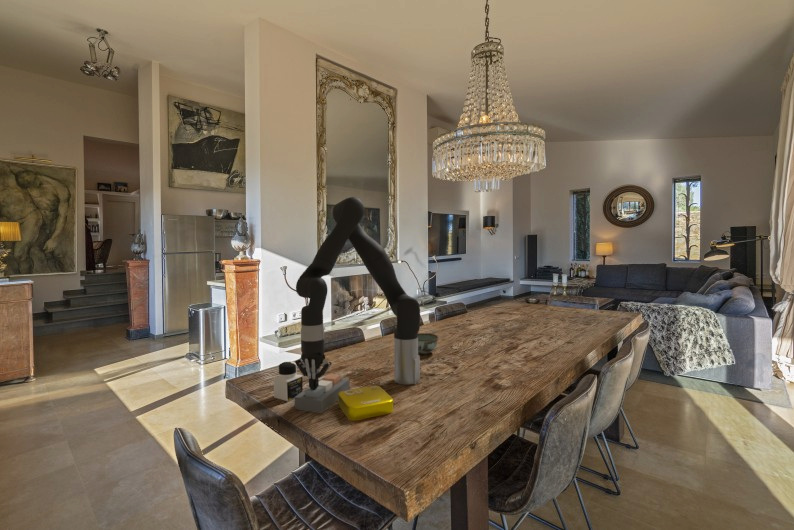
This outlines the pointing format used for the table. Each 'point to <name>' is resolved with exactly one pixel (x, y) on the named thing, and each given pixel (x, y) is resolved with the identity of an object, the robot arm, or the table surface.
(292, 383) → the medicine bottle
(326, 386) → the ivory key
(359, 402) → the element tile
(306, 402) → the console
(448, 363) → the table surface
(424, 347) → the bowl
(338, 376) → the terracotta key
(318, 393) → the slate key
